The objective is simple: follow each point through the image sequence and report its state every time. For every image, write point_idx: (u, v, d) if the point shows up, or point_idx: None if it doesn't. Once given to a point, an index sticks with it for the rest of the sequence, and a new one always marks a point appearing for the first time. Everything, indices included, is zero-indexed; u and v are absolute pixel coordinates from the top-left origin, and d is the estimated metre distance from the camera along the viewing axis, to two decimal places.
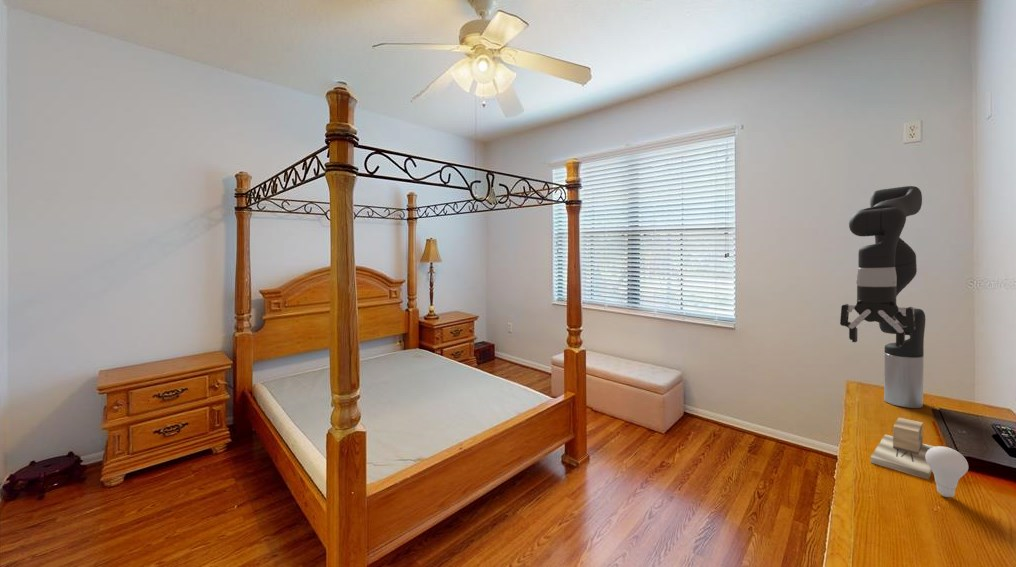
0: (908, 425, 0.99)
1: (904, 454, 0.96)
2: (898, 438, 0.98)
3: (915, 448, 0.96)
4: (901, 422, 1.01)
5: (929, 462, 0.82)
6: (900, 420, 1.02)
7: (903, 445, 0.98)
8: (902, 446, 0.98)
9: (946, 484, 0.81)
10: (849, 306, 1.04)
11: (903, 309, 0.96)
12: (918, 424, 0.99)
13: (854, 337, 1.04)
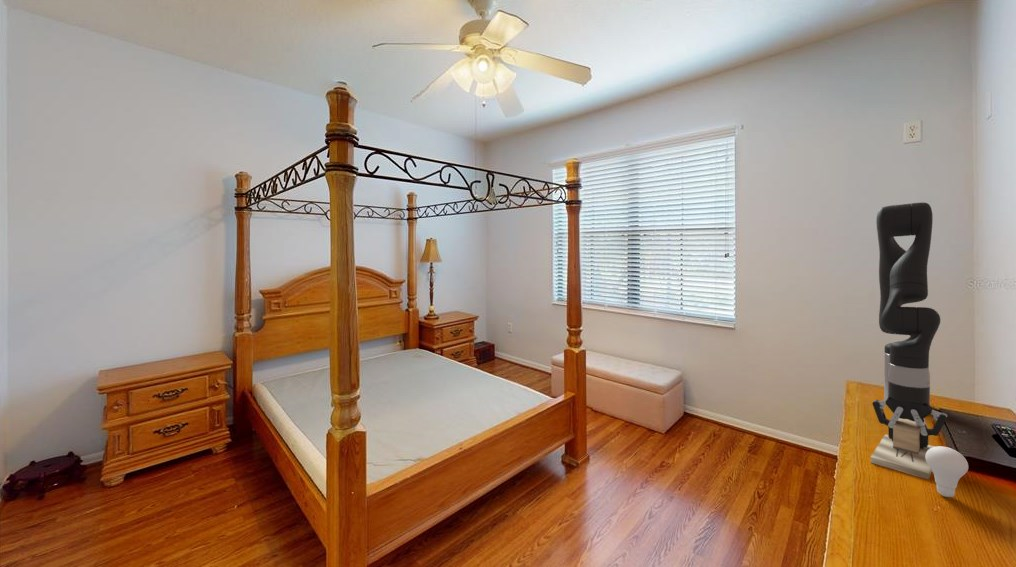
0: (908, 425, 0.99)
1: (904, 454, 0.96)
2: (898, 438, 0.98)
3: (915, 448, 0.96)
4: (901, 422, 1.01)
5: (929, 462, 0.82)
6: (900, 420, 1.02)
7: (903, 445, 0.98)
8: (902, 446, 0.98)
9: (946, 484, 0.81)
10: (880, 402, 1.03)
11: (937, 413, 0.95)
12: None
13: None
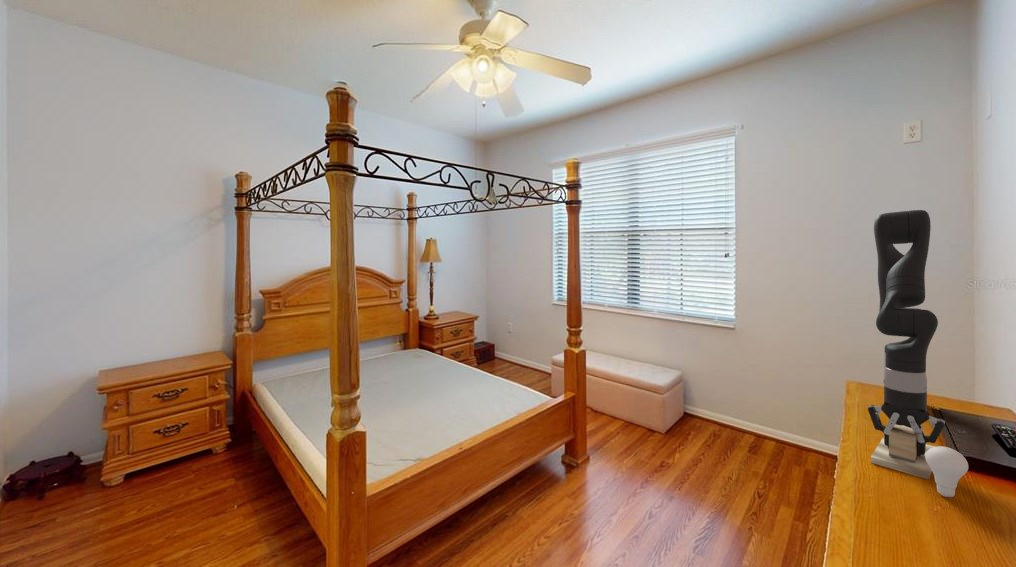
0: (904, 432, 0.95)
1: None
2: (894, 445, 0.95)
3: (912, 456, 0.92)
4: (897, 429, 0.97)
5: (929, 462, 0.82)
6: (896, 426, 0.98)
7: (899, 452, 0.94)
8: (898, 454, 0.94)
9: (946, 484, 0.81)
10: (875, 408, 1.00)
11: (934, 420, 0.91)
12: None
13: None
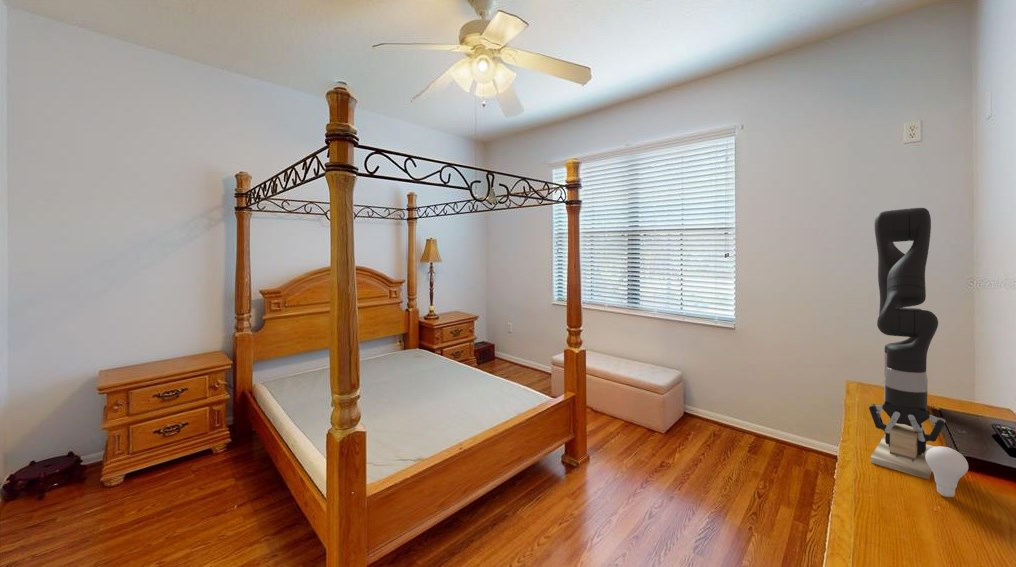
0: (905, 430, 0.97)
1: None
2: (895, 443, 0.96)
3: (912, 454, 0.94)
4: (898, 427, 0.98)
5: (929, 462, 0.82)
6: (897, 425, 1.00)
7: (900, 451, 0.95)
8: (899, 452, 0.96)
9: (946, 484, 0.81)
10: (876, 407, 1.01)
11: (934, 419, 0.93)
12: None
13: None
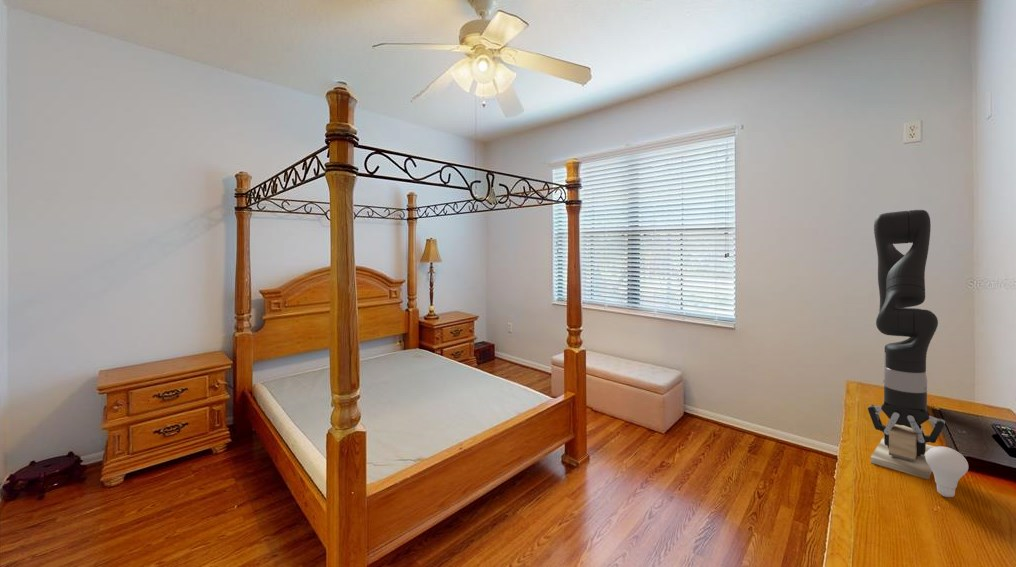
0: (904, 431, 0.95)
1: None
2: (894, 444, 0.95)
3: (912, 455, 0.92)
4: (897, 428, 0.97)
5: (929, 462, 0.82)
6: (896, 426, 0.98)
7: (899, 452, 0.94)
8: (898, 453, 0.94)
9: (946, 484, 0.81)
10: (875, 408, 1.00)
11: (934, 420, 0.91)
12: None
13: None
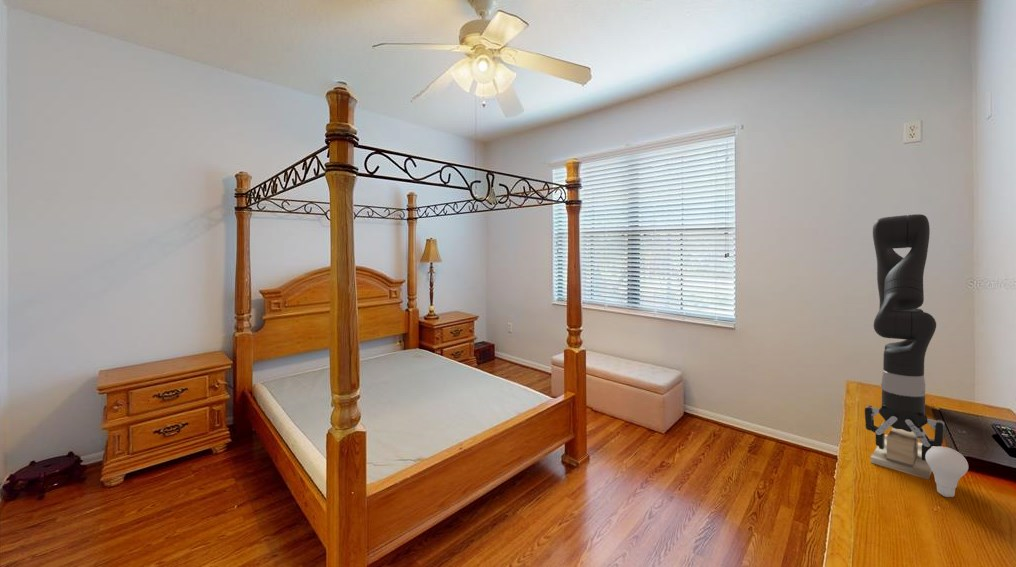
0: (902, 436, 0.94)
1: None
2: (892, 449, 0.93)
3: (910, 460, 0.91)
4: (895, 433, 0.96)
5: (929, 462, 0.82)
6: (894, 430, 0.97)
7: (897, 457, 0.93)
8: (896, 458, 0.93)
9: (946, 484, 0.81)
10: (873, 409, 0.98)
11: (933, 422, 0.90)
12: (913, 434, 0.94)
13: (881, 444, 0.97)
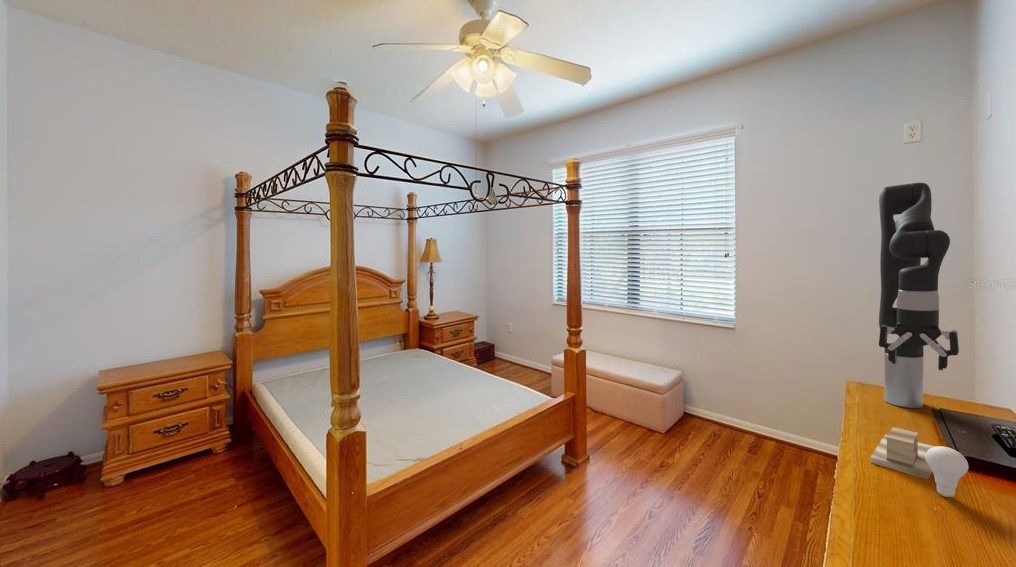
0: (902, 436, 0.94)
1: None
2: (892, 449, 0.93)
3: (910, 460, 0.91)
4: (895, 433, 0.96)
5: (929, 462, 0.82)
6: (894, 430, 0.97)
7: (897, 457, 0.93)
8: (896, 458, 0.93)
9: (946, 484, 0.81)
10: (888, 328, 1.04)
11: (946, 333, 0.95)
12: (913, 434, 0.94)
13: (894, 359, 1.03)
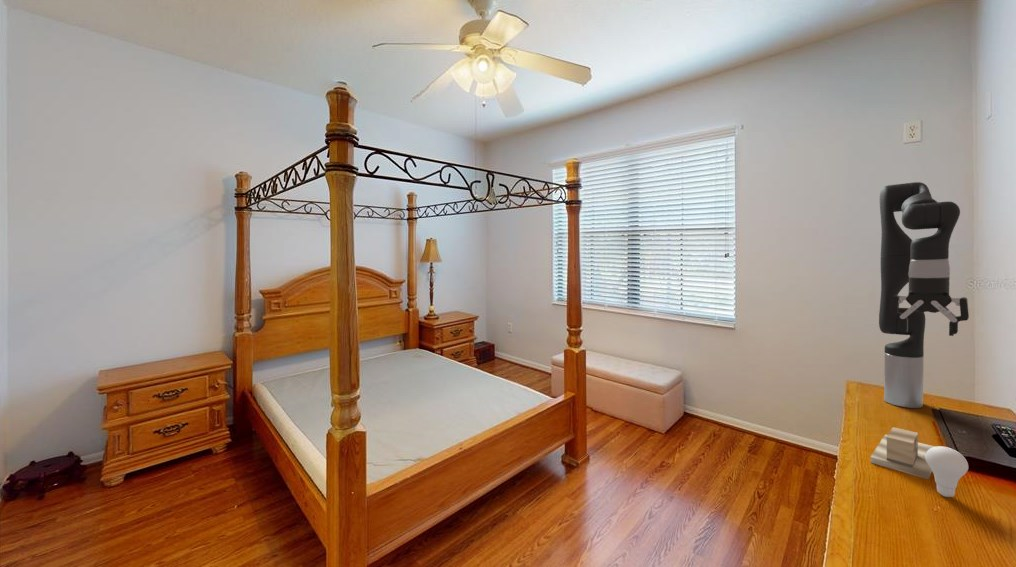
0: (902, 436, 0.94)
1: None
2: (892, 449, 0.93)
3: (910, 460, 0.91)
4: (895, 433, 0.96)
5: (929, 462, 0.82)
6: (894, 430, 0.97)
7: (897, 457, 0.93)
8: (896, 458, 0.93)
9: (946, 484, 0.81)
10: (900, 297, 1.08)
11: (957, 299, 1.00)
12: (913, 434, 0.94)
13: (905, 327, 1.07)
